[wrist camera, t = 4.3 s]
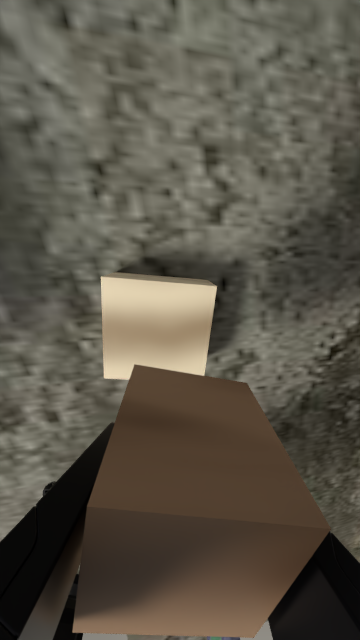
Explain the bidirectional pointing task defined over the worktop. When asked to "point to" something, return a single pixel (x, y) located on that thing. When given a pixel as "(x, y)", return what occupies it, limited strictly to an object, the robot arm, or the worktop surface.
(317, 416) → the worktop surface
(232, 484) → the walnut cube
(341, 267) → the worktop surface
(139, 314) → the beech block
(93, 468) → the robot arm
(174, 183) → the worktop surface
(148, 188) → the worktop surface
